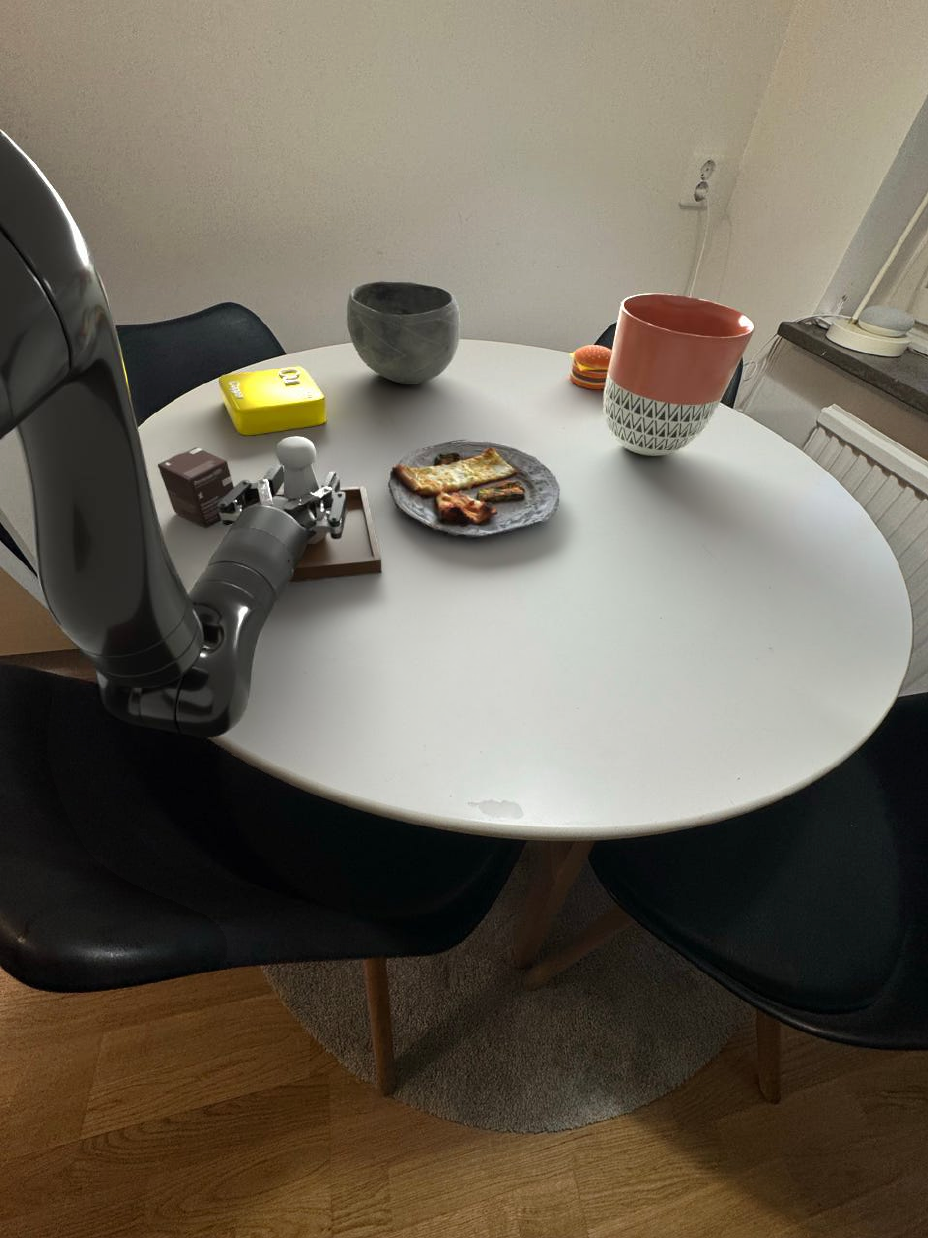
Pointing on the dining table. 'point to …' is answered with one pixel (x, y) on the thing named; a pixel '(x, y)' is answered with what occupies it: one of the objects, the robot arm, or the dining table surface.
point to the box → (196, 484)
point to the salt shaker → (299, 471)
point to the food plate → (473, 488)
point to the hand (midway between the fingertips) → (307, 475)
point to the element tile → (272, 400)
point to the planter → (670, 369)
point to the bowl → (404, 329)
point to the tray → (343, 544)
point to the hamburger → (590, 366)
